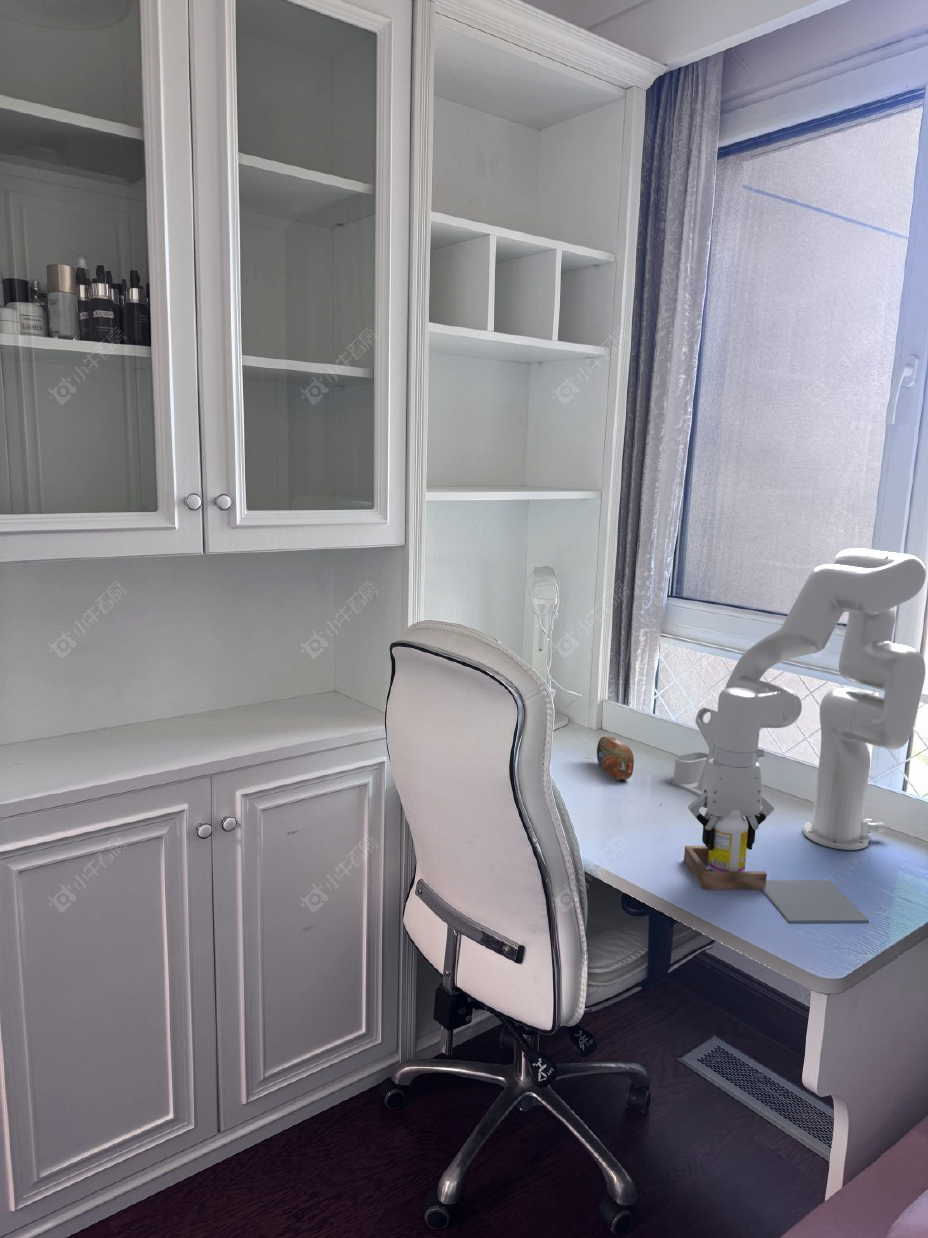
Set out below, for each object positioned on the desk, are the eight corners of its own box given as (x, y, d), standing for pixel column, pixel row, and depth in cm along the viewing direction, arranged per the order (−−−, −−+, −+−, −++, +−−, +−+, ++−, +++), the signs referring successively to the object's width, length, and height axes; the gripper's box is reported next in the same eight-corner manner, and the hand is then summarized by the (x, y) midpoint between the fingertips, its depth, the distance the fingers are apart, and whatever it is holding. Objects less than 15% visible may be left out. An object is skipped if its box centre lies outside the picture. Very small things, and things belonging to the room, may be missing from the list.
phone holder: (668, 781, 208) (673, 709, 204) (698, 775, 213) (704, 704, 209) (723, 807, 193) (730, 730, 190) (754, 799, 198) (761, 724, 195)
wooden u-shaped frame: (740, 860, 167) (742, 846, 166) (765, 889, 156) (766, 874, 155) (683, 860, 166) (684, 846, 166) (703, 889, 155) (705, 874, 154)
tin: (594, 763, 218) (596, 732, 216) (606, 763, 219) (608, 731, 217) (622, 785, 204) (625, 751, 202) (634, 784, 205) (637, 750, 203)
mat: (828, 882, 160) (829, 880, 159) (868, 922, 146) (869, 920, 146) (755, 882, 158) (755, 880, 158) (788, 922, 145) (789, 920, 145)
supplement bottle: (737, 861, 165) (742, 798, 162) (749, 878, 158) (755, 812, 156) (702, 861, 164) (707, 798, 162) (713, 878, 158) (719, 812, 155)
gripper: (772, 748, 161) (764, 837, 165) (682, 749, 160) (675, 838, 163) (790, 762, 154) (781, 855, 157) (695, 763, 153) (688, 856, 156)
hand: (727, 846), depth 160 cm, fingers closed on supplement bottle, 6 cm apart
